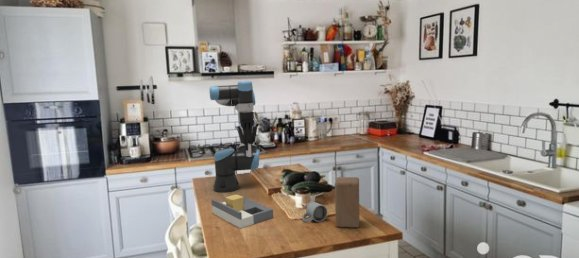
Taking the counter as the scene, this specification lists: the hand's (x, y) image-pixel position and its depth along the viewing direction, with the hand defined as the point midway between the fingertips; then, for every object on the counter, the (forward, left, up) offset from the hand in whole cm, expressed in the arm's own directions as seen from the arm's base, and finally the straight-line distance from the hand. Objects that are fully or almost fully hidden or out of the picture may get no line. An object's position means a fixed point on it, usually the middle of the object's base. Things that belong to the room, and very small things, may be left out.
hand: (248, 156), depth 201 cm
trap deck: (+14, +14, -24) cm, 32 cm away
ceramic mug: (-6, +42, -25) cm, 49 cm away
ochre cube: (+18, +14, -20) cm, 31 cm away
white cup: (-18, +25, -25) cm, 39 cm away
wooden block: (-14, +56, -25) cm, 63 cm away
